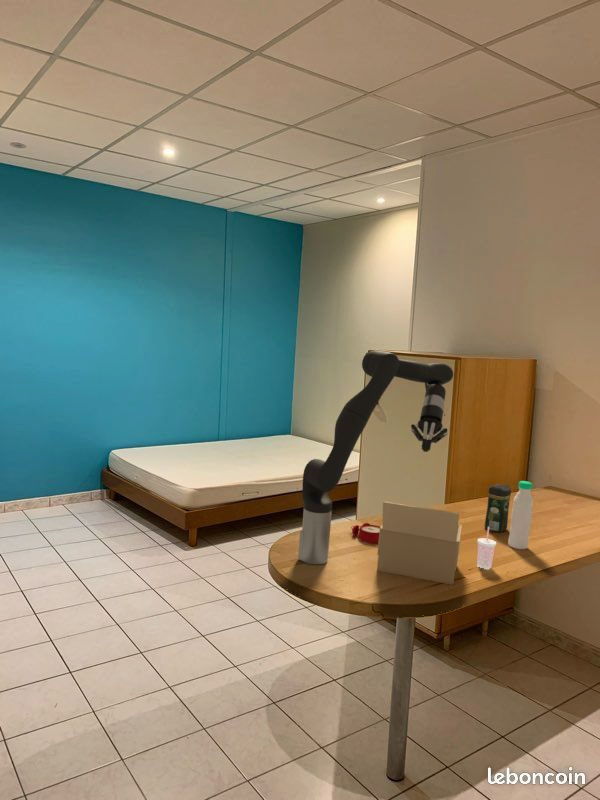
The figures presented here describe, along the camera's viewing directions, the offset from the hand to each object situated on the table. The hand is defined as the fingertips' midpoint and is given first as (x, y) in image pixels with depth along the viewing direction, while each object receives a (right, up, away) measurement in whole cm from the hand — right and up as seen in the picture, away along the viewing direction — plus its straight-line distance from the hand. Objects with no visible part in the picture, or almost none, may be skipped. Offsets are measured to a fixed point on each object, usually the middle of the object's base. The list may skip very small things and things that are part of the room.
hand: (425, 450), depth 206 cm
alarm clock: (-17, -35, +22) cm, 45 cm away
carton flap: (-5, -21, -16) cm, 27 cm away
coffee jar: (+38, -36, +44) cm, 69 cm away
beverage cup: (+20, -40, +2) cm, 45 cm away
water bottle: (+40, -39, +25) cm, 61 cm away
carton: (-3, -38, -4) cm, 39 cm away
